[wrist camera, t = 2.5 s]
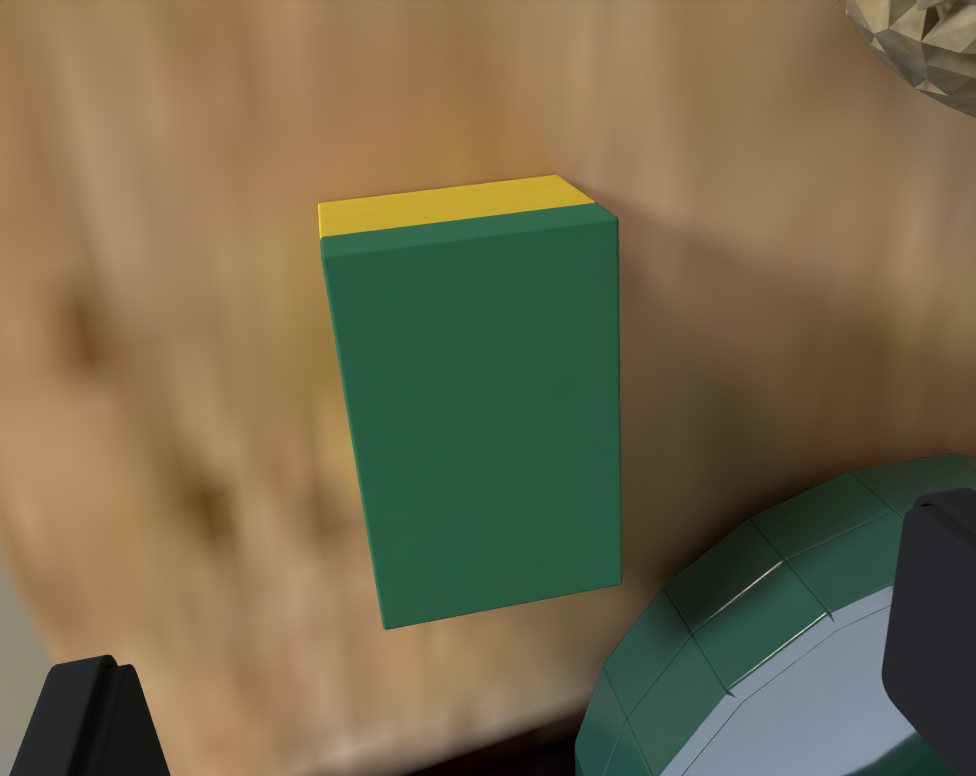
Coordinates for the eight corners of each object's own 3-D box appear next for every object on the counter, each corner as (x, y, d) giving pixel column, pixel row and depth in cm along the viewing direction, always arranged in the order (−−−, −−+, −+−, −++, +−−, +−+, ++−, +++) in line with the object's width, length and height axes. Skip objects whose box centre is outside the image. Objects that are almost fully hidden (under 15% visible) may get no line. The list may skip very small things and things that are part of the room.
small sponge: (317, 202, 15) (320, 255, 12) (558, 174, 16) (619, 217, 13) (370, 523, 18) (383, 631, 15) (570, 488, 19) (623, 585, 16)
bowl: (556, 506, 19) (613, 623, 16) (1175, 396, 21) (1349, 476, 18) (577, 946, 26) (621, 1096, 23) (1042, 827, 28) (1148, 947, 25)
